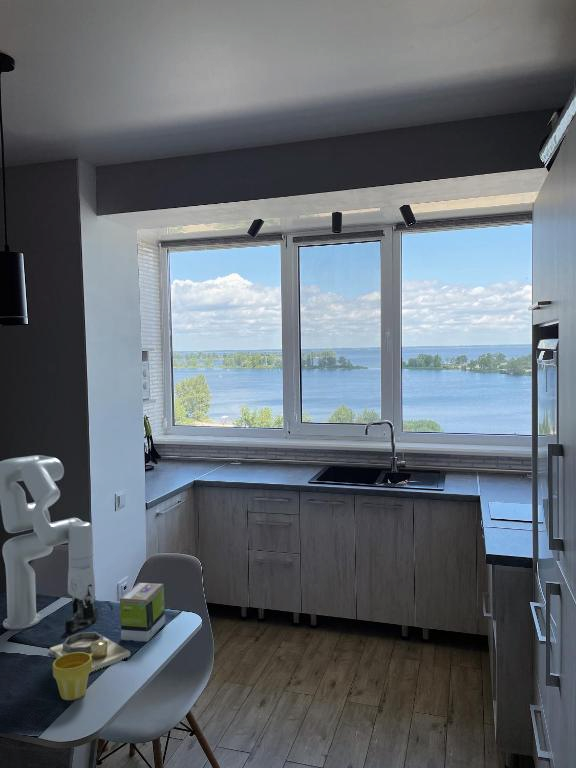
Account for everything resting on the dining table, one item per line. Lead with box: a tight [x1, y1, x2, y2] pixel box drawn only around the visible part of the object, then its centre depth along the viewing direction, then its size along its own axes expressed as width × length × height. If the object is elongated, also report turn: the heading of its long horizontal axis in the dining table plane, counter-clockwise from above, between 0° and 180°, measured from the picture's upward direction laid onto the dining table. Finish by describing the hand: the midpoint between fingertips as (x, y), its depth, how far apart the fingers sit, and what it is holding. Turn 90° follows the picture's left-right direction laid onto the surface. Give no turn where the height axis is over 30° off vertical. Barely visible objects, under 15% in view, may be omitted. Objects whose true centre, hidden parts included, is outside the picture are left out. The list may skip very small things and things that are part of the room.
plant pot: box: [52, 652, 92, 701], centre depth 169 cm, size 10×10×10 cm
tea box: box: [119, 582, 166, 643], centre depth 208 cm, size 15×10×15 cm
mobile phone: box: [64, 607, 99, 635], centre depth 214 cm, size 5×3×15 cm
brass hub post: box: [91, 640, 108, 660], centre depth 188 cm, size 5×5×4 cm
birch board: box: [49, 635, 131, 674], centre depth 192 cm, size 22×16×2 cm
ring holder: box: [63, 631, 104, 653], centre depth 195 cm, size 12×12×2 cm
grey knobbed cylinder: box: [72, 595, 93, 629], centre depth 194 cm, size 6×6×12 cm
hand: (83, 615), depth 194 cm, fingers closed on grey knobbed cylinder, 5 cm apart
